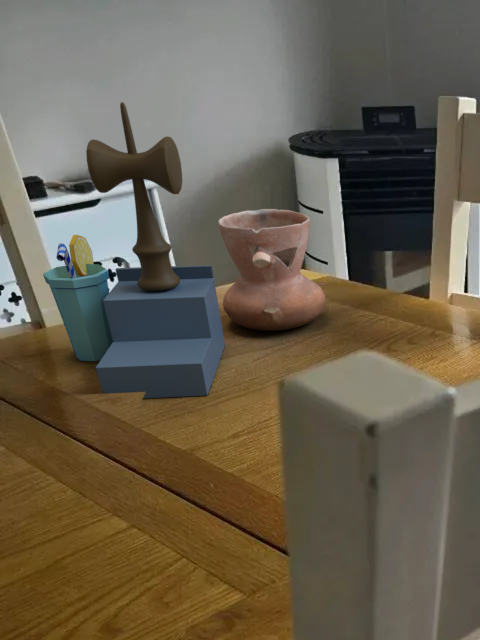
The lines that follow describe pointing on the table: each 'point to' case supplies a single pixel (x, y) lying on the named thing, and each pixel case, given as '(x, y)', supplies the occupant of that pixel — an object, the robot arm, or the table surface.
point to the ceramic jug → (270, 270)
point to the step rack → (162, 335)
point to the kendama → (141, 196)
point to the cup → (81, 299)
